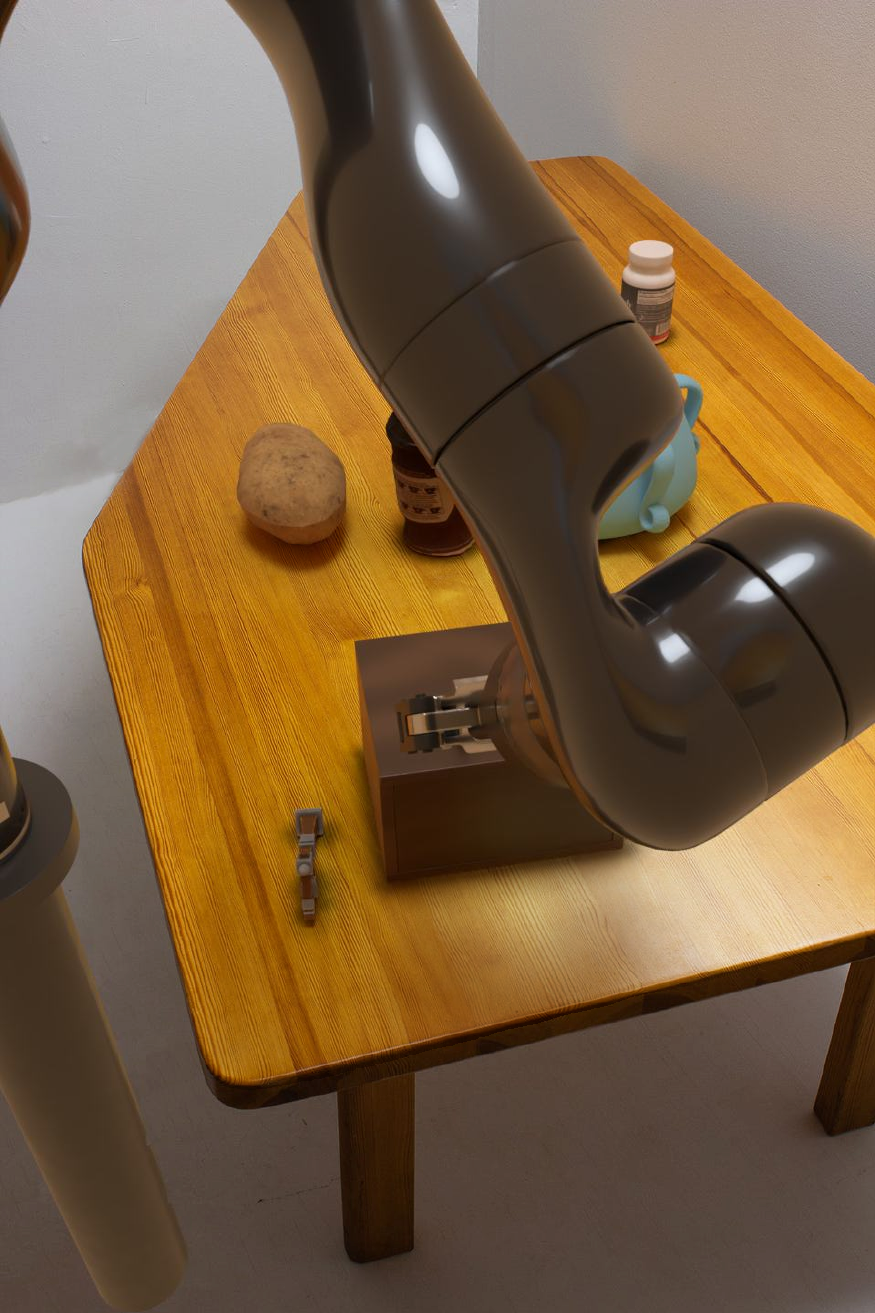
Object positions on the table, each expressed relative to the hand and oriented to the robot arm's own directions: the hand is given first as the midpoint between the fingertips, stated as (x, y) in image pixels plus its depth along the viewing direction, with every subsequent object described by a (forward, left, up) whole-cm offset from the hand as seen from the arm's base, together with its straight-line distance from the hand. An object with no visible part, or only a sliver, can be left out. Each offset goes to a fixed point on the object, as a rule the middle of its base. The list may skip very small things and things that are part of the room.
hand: (519, 713), depth 66 cm
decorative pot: (+17, +41, -16) cm, 47 cm away
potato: (-10, +43, -16) cm, 47 cm away
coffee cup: (+2, +39, -16) cm, 42 cm away
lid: (0, +8, -6) cm, 10 cm away
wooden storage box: (0, +8, -16) cm, 18 cm away
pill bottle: (+31, +73, -16) cm, 81 cm away
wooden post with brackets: (-12, +4, -16) cm, 21 cm away
